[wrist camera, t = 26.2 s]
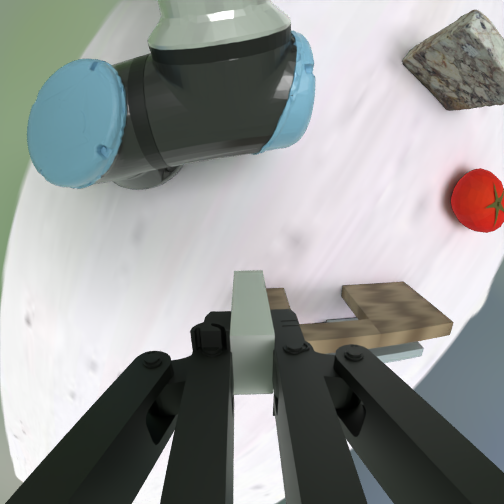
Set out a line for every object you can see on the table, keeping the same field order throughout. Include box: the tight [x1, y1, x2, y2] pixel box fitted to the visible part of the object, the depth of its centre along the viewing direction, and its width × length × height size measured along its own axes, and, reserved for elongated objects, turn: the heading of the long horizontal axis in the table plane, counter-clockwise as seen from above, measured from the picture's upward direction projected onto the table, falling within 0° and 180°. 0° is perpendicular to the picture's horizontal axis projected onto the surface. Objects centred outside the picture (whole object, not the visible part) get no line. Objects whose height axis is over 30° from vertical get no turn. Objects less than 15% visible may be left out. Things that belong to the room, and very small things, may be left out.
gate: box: [327, 318, 424, 363], centre depth 45 cm, size 15×6×12 cm, turn 91°
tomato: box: [451, 168, 504, 233], centre depth 40 cm, size 11×13×10 cm
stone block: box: [403, 10, 504, 111], centre depth 29 cm, size 13×7×20 cm, turn 58°
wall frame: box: [266, 282, 453, 354], centre depth 41 cm, size 28×2×16 cm, turn 91°
